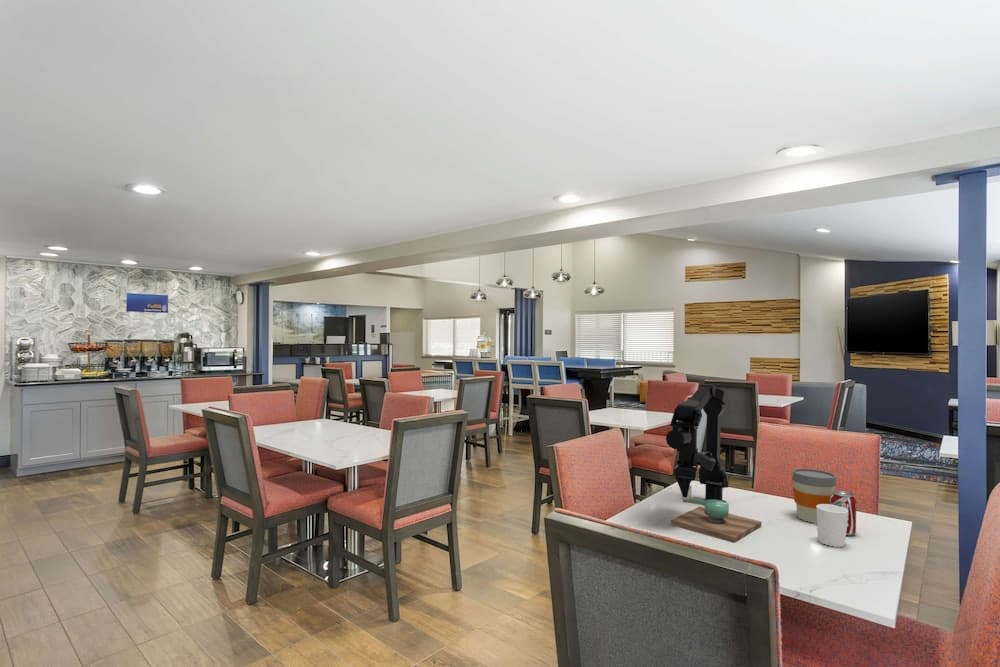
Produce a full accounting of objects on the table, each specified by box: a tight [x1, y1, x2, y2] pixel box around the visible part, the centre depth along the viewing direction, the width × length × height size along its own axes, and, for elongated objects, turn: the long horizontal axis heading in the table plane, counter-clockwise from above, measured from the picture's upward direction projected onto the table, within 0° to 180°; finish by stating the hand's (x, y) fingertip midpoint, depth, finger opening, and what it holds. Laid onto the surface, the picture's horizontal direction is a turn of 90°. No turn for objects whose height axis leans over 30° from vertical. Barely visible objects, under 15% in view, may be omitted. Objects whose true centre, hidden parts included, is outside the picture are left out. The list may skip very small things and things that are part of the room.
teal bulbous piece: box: [680, 485, 730, 518], centre depth 174 cm, size 14×7×8 cm, turn 65°
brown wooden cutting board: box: [670, 505, 763, 543], centre depth 172 cm, size 20×20×3 cm
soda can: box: [830, 490, 857, 536], centre depth 168 cm, size 7×7×12 cm
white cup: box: [816, 504, 848, 548], centre depth 159 cm, size 8×8×10 cm
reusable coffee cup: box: [792, 468, 837, 524], centre depth 180 cm, size 13×13×15 cm
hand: (686, 493), depth 176 cm, fingers open, 9 cm apart
